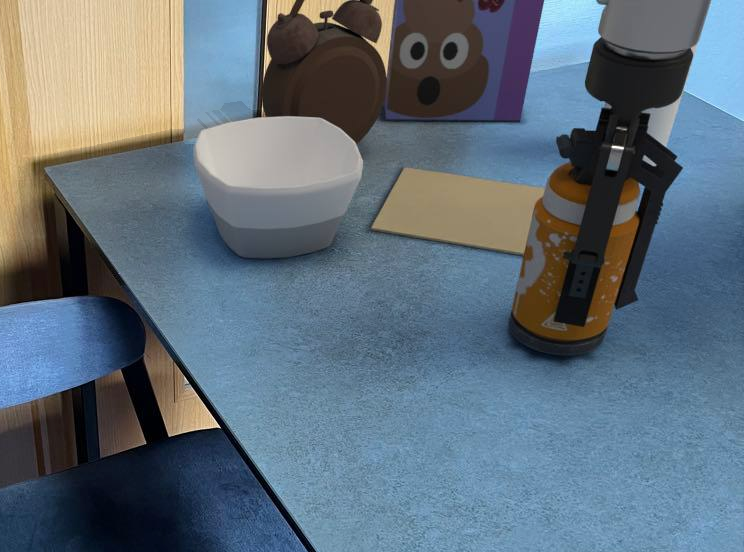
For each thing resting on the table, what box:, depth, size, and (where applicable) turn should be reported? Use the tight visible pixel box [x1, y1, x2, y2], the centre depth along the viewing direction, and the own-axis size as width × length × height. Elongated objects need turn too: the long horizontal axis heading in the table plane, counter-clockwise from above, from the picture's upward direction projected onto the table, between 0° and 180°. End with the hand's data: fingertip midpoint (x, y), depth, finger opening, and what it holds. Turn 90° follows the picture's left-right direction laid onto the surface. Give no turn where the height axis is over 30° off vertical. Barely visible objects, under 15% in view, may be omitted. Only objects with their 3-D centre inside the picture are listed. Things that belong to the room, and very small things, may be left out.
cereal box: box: [383, 0, 545, 123], centre depth 128 cm, size 17×5×24 cm, turn 86°
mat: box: [370, 166, 545, 257], centre depth 118 cm, size 20×16×1 cm
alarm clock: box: [261, 0, 387, 145], centre depth 121 cm, size 14×7×20 cm, turn 115°
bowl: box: [192, 116, 364, 259], centre depth 112 cm, size 18×18×9 cm
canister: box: [508, 127, 684, 356], centre depth 93 cm, size 9×11×20 cm
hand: (575, 295), depth 96 cm, fingers closed on canister, 9 cm apart
